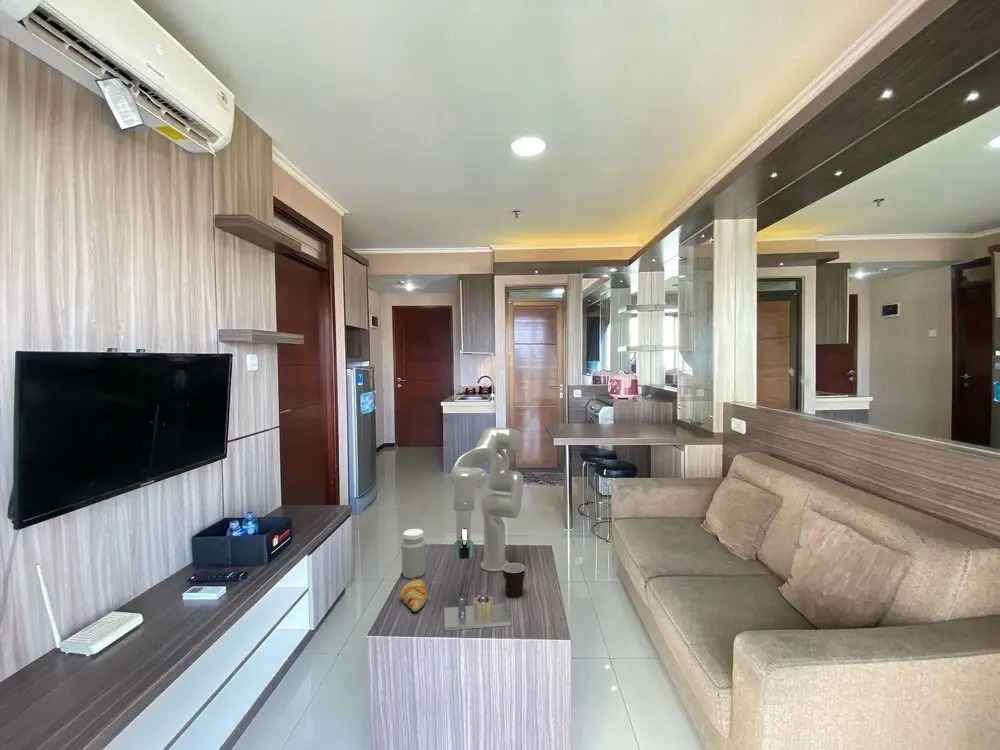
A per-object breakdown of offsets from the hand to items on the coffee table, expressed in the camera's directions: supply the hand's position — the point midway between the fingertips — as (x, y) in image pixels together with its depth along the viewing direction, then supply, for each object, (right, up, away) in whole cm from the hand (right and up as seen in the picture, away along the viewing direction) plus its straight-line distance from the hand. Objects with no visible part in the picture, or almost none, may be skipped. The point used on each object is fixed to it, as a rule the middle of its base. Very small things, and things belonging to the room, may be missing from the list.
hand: (464, 553), depth 157 cm
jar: (-23, -19, +24) cm, 38 cm away
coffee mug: (+19, -18, +8) cm, 28 cm away
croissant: (-19, -19, +3) cm, 27 cm away
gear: (0, -1, 0) cm, 1 cm away
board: (+5, -18, -10) cm, 21 cm away
